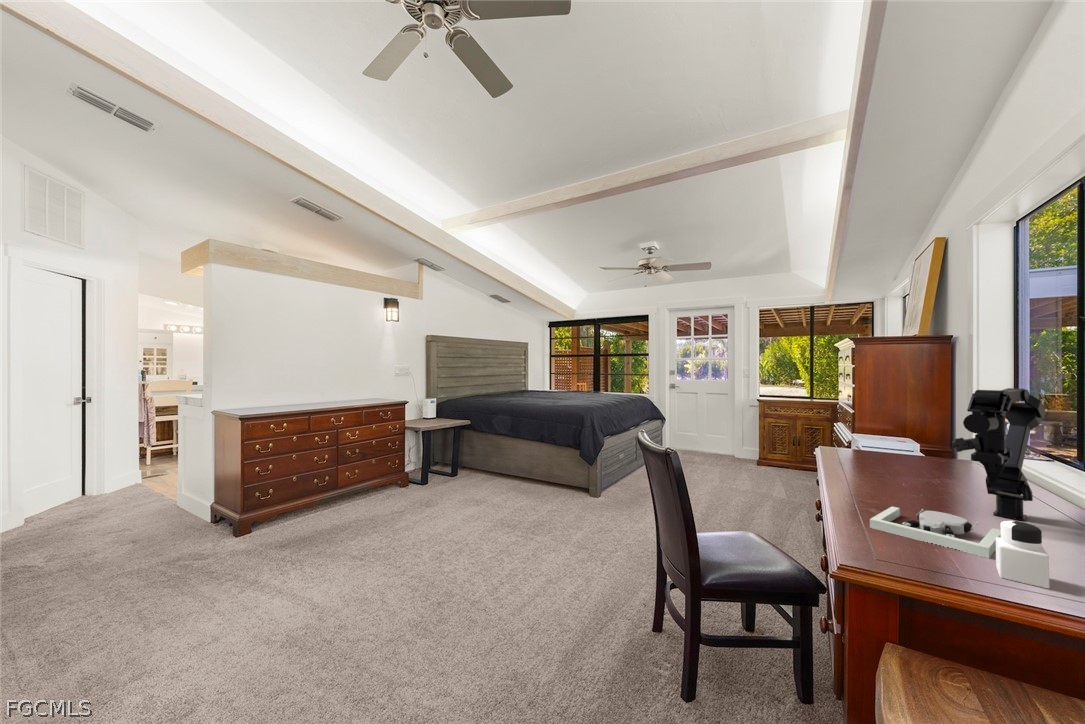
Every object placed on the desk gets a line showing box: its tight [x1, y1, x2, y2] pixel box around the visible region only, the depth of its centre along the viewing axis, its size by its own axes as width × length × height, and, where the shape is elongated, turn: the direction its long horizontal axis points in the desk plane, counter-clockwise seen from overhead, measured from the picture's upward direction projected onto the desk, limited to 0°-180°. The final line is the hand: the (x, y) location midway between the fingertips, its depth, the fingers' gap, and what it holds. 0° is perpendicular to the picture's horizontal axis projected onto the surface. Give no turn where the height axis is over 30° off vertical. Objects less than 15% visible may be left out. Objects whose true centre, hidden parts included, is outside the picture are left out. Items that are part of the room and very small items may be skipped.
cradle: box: [869, 506, 1001, 559], centre depth 117 cm, size 20×24×2 cm
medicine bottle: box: [995, 520, 1050, 590], centre depth 93 cm, size 7×7×12 cm
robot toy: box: [901, 508, 979, 538], centre depth 118 cm, size 12×4×15 cm
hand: (992, 482), depth 126 cm, fingers closed
